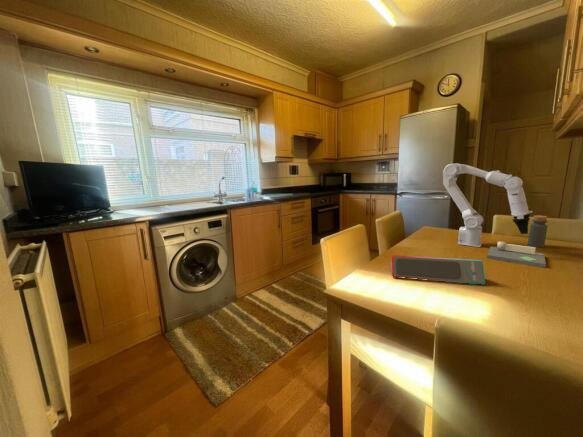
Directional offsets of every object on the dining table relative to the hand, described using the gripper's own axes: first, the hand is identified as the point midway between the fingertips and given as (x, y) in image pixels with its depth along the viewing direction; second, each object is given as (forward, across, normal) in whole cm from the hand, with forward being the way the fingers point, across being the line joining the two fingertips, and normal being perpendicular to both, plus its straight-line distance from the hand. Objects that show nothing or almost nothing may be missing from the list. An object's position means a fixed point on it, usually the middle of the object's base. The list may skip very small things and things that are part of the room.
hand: (524, 232), depth 110 cm
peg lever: (+7, -6, +3) cm, 10 cm away
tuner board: (+9, -10, +4) cm, 14 cm away
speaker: (+5, -51, +26) cm, 57 cm away
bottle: (+10, +16, -2) cm, 19 cm away
